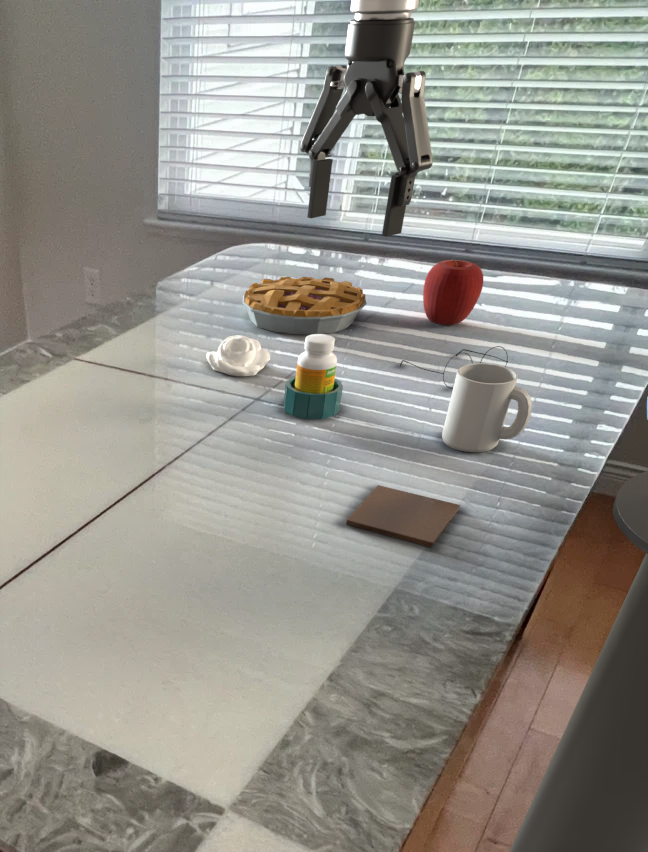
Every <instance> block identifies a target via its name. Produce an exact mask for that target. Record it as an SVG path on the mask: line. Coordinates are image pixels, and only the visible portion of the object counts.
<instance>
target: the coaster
mask: <svg viewBox="0 0 648 852" xmlns="http://www.w3.org/2000/svg"><path fill="white" fill-rule="evenodd" d="M460 508H461V504H459V503H454V502H449V501H445V500H441V499H437V498H433V497H428V496H425V495H421V494H417V493H412V492H408V491H404V490H400V489H396V488H392V487H387V486H384V485H379V484H378V485H376V487H375V488H374V489H373V490H372V491H371V492H370V494H369V495H367V497H366V498H365V499H364V500H363V501H362V502H361V503H360V505H359V506H358V507H356V509H355V510H354V511H353V512H352V514H351V515H350V516H349V517H348V518H347V519H346V521H345V524H346V525H347V526H351V527H354V528H358V529H362V530H366V531H369V532H373V533H376V534H381V535H384V536H388V537H392V538H396V539H400V540H403V541H406V542H410V543H415V544H419V545H422V546H426V547H429V548H433V547H434V546H435V544H436V542H437V541H438V539H440V537H441V535H442V534H443V533H444V532H445V530H446V529H447V527H448V526H449V524H450V523H451V521H452V520H453V519H454V518H455V516H456V515H457V513H458V512H459V511H460Z"/></svg>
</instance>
